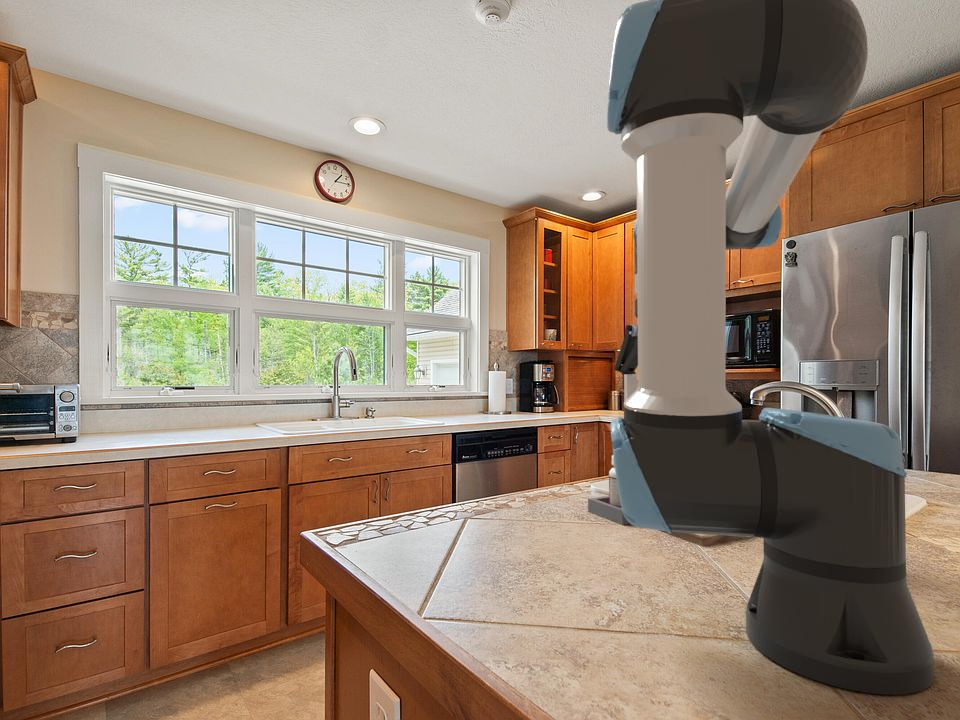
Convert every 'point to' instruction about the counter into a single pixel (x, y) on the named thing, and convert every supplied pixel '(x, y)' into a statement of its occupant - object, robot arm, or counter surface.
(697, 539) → the walnut frame
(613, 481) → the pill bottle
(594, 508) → the grey shallow tray
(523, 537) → the counter surface
